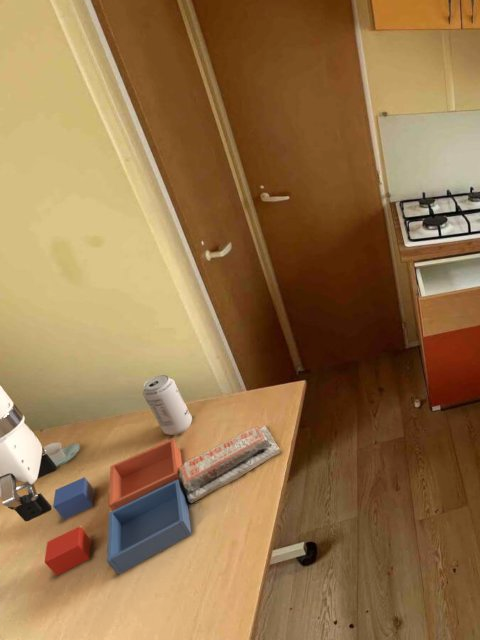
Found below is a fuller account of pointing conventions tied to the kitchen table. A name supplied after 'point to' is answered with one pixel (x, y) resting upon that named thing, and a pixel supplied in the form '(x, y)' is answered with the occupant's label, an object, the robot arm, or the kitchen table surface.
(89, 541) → the red block
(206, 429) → the kitchen table surface
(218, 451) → the packaged product
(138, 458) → the terracotta bin
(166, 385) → the energy drink can
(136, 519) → the blue bin
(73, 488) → the blue block
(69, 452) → the pacifier
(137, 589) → the kitchen table surface
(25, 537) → the kitchen table surface
